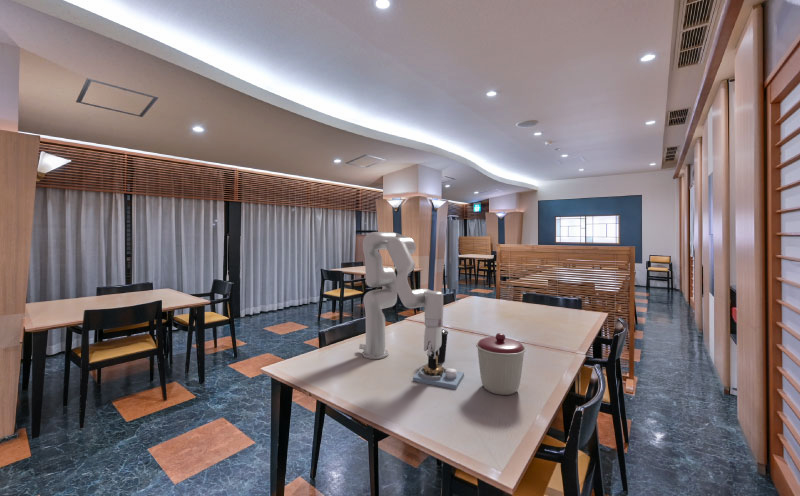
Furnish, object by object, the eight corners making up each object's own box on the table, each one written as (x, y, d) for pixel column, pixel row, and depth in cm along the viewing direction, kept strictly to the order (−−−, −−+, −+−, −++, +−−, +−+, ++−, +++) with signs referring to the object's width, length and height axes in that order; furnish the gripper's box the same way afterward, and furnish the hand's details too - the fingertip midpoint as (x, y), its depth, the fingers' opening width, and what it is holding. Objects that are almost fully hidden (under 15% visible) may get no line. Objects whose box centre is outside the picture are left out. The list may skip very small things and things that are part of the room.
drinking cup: (447, 364, 146) (447, 320, 146) (430, 363, 148) (430, 319, 147) (448, 358, 154) (448, 316, 153) (432, 357, 155) (432, 315, 155)
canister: (519, 405, 110) (520, 344, 110) (468, 392, 120) (468, 335, 119) (529, 385, 126) (530, 331, 125) (483, 375, 135) (484, 324, 135)
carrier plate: (413, 380, 129) (413, 371, 129) (423, 369, 141) (423, 359, 141) (456, 389, 122) (456, 378, 122) (463, 375, 134) (464, 366, 134)
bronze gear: (420, 373, 131) (420, 357, 130) (427, 366, 138) (427, 351, 138) (440, 377, 127) (440, 360, 127) (446, 369, 135) (446, 353, 135)
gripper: (431, 316, 141) (431, 358, 142) (418, 325, 126) (417, 372, 127) (448, 318, 138) (447, 361, 139) (436, 327, 123) (436, 375, 124)
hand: (433, 366), depth 133 cm, fingers closed on bronze gear, 3 cm apart
